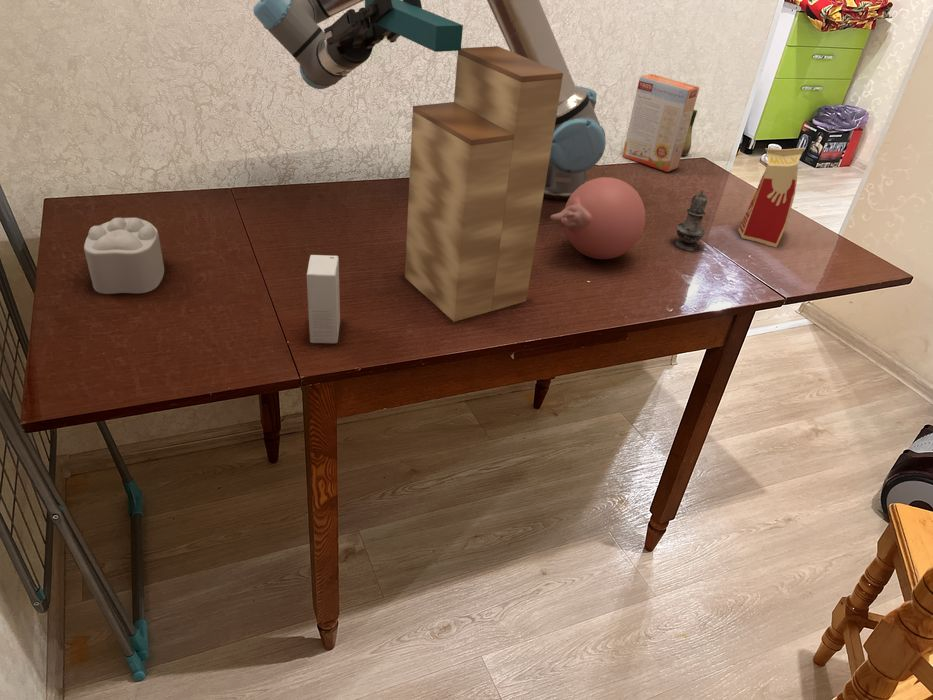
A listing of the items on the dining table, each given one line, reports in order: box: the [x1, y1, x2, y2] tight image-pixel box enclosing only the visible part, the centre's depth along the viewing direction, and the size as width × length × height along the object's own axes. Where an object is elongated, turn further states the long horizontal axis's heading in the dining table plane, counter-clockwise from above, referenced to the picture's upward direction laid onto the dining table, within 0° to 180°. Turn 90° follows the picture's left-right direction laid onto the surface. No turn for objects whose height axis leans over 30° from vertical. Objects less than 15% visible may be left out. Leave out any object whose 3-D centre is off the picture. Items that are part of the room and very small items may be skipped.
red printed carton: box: [737, 147, 806, 249], centre depth 149 cm, size 9×9×20 cm
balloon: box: [550, 176, 646, 260], centre depth 134 cm, size 15×20×15 cm
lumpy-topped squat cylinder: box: [83, 217, 165, 295], centre depth 116 cm, size 10×13×9 cm
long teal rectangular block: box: [364, 0, 464, 53], centre depth 110 cm, size 22×4×4 cm, turn 34°
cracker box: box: [622, 73, 700, 173], centre depth 181 cm, size 14×6×21 cm, turn 47°
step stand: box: [404, 45, 563, 323], centre depth 113 cm, size 16×15×38 cm
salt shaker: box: [673, 190, 708, 252], centre depth 144 cm, size 6×6×12 cm
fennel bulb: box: [681, 109, 698, 156], centre depth 191 cm, size 6×5×12 cm
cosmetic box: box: [306, 254, 341, 344], centre depth 106 cm, size 6×4×12 cm
